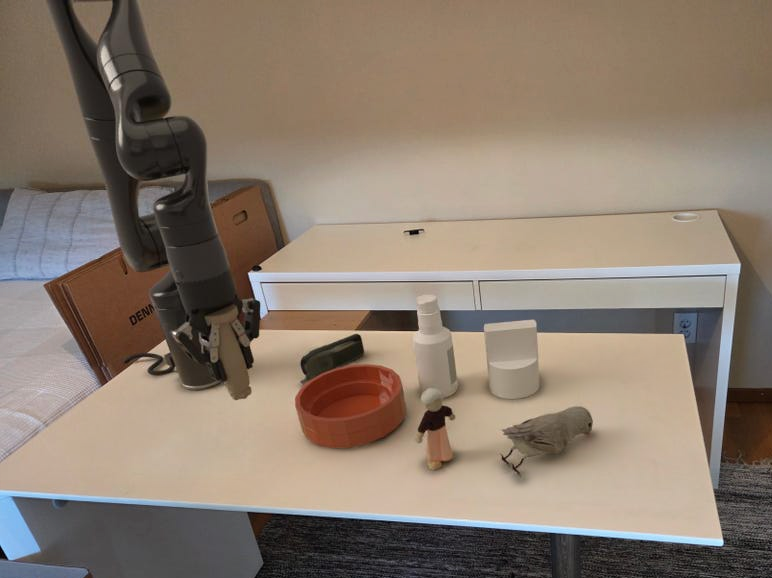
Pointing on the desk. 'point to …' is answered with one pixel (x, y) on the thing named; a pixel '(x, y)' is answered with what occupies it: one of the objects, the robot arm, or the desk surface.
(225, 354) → the handle
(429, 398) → the grandmother figurine
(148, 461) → the desk surface
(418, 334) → the spray bottle
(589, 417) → the decorative bird
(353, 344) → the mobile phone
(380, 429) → the bowl
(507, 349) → the base with upright slab
